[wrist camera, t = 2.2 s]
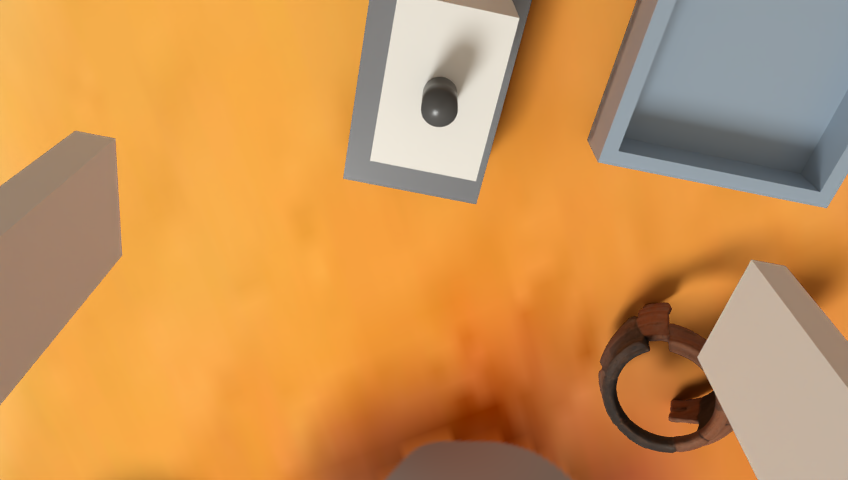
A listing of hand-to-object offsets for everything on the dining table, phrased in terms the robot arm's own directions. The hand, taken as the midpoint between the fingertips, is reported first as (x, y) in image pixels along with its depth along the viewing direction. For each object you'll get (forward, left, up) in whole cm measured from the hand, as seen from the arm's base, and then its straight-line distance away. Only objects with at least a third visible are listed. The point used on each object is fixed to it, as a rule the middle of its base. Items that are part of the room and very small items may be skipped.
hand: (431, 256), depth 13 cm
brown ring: (+18, +20, -23) cm, 35 cm away
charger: (0, 0, -20) cm, 20 cm away
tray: (-4, +16, -22) cm, 27 cm away
